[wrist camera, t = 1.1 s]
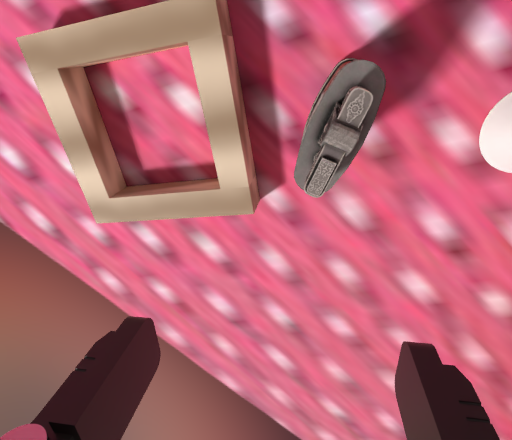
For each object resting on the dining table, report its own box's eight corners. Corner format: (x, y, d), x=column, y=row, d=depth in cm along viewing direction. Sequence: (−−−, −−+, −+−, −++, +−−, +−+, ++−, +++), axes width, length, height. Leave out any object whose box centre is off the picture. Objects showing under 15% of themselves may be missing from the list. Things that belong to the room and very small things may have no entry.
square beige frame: (46, 39, 26) (15, 37, 24) (226, -4, 22) (213, -11, 20) (114, 210, 33) (96, 223, 31) (259, 199, 29) (253, 213, 27)
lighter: (336, 50, 23) (344, 48, 14) (379, 68, 23) (414, 77, 14) (292, 150, 27) (278, 197, 18) (328, 166, 27) (331, 220, 18)
